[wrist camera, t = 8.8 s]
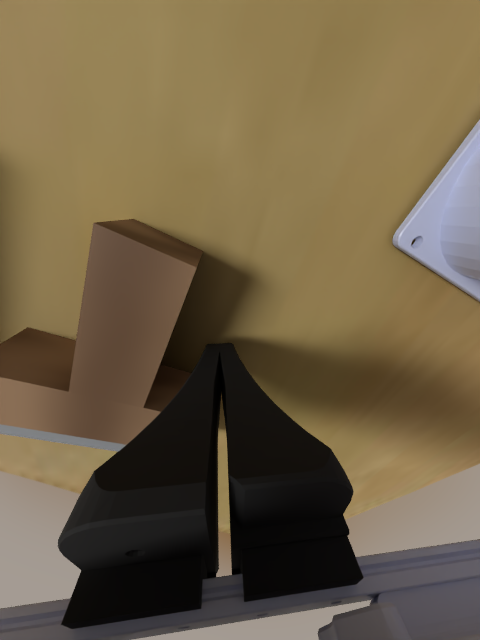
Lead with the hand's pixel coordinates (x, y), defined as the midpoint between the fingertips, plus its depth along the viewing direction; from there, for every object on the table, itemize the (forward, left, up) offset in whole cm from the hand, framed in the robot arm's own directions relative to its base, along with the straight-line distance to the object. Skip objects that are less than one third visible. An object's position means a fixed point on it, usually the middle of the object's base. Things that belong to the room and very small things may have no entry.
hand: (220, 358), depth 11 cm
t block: (+4, 0, -1) cm, 4 cm away
